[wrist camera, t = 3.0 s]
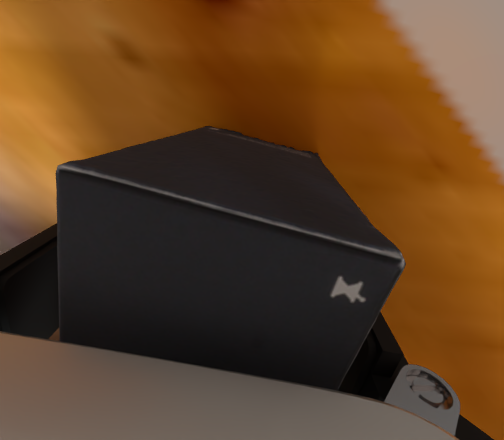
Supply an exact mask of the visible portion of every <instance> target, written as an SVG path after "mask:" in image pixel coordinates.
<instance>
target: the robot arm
mask: <svg viewBox="0 0 504 440" xmlns="http://www.w3.org/2000/svg"><path fill="white" fill-rule="evenodd" d="M58 328H59V293H58V258H57V224H55V225H53V226H51V227H50V228H48V229H46V230H44V231H43V232H41V233H39V234H37V235H36V236H34V237H32V238H30V239H29V240H27V241H25V242H23V243H22V244H20V245H18V246H16V247H14V248H13V249H11V250H9V251H7V252H6V253H4V254H2V255H0V440H494V439H492V438H491V437H490V436H488V435H487V434H485V433H484V432H483V431H481V430H480V429H479V428H477V427H476V426H475V425H473V424H472V423H471V422H469V421H468V420H467V419H465V418H464V417H463V416H461V415H460V414H459V413H460V402H459V399H458V397H457V395H456V393H455V392H454V390H453V389H452V388H451V386H450V385H449V384H448V383H447V382H446V381H445V380H444V379H442V378H441V377H440V376H438V375H437V374H436V373H434V372H432V371H430V370H429V369H427V368H424V367H421V366H419V365H411V364H410V365H409V364H408V362H407V360H406V359H405V357H404V354H403V352H402V350H401V349H400V347H399V345H398V343H397V341H396V339H395V338H394V336H393V334H392V332H391V330H390V328H389V327H388V325H387V323H386V321H385V319H384V317H383V316H382V314H381V312H379V314H378V316H377V319H376V321H375V323H374V324H373V326H372V328H371V330H370V331H369V333H368V335H367V337H366V339H365V340H364V342H363V344H362V346H361V348H360V350H359V352H358V354H357V356H356V358H355V359H354V361H353V363H352V365H351V366H350V368H349V370H348V372H347V374H346V375H345V377H344V379H343V381H342V383H341V385H340V387H339V389H338V390H337V391H336V390H332V389H327V388H321V387H316V386H310V385H305V384H299V383H294V382H289V381H283V380H277V379H272V378H266V377H261V376H255V375H250V374H244V373H239V372H233V371H228V370H222V369H217V368H211V367H206V366H200V365H194V364H189V363H183V362H177V361H172V360H166V359H160V358H154V357H149V356H143V355H137V354H132V353H126V352H120V351H114V350H108V349H103V348H97V347H91V346H85V345H79V344H73V343H67V342H61V341H55V340H49V338H50V337H51V336H52V335H53V334H54V332H55V331H56V330H57V329H58Z"/></svg>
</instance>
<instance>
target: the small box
mask: <svg viewBox="0 0 504 440" xmlns="http://www.w3.org/2000/svg"><path fill="white" fill-rule="evenodd" d="M56 186H57V258H58V293H59V341H61V342H67V343H73V344H79V345H85V346H91V347H97V348H103V349H108V350H114V351H120V352H126V353H132V354H137V355H143V356H149V357H154V358H160V359H166V360H172V361H177V362H183V363H189V364H194V365H200V366H206V367H211V368H217V369H222V370H228V371H233V372H239V373H244V374H250V375H255V376H261V377H266V378H272V379H277V380H283V381H289V382H294V383H299V384H305V385H310V386H316V387H321V388H327V389H332V390H336V391H337V390H338V389H339V387H340V385H341V383H342V381H343V379H344V377H345V375H346V374H347V372H348V370H349V368H350V366H351V365H352V363H353V361H354V359H355V358H356V356H357V354H358V352H359V350H360V348H361V346H362V344H363V342H364V340H365V339H366V337H367V335H368V333H369V331H370V330H371V328H372V326H373V324H374V323H375V321H376V319H377V316H378V314H379V312H380V311H381V309H382V307H383V305H384V304H385V302H386V300H387V298H388V296H389V294H390V293H391V291H392V289H393V287H394V285H395V284H396V282H397V280H398V278H399V277H400V275H401V273H402V271H403V270H404V267H405V265H406V263H405V260H404V258H403V256H402V253H401V252H400V251H399V249H398V248H397V247H396V246H395V245H394V244H393V243H392V242H391V241H390V240H389V239H387V238H386V237H385V236H384V235H383V234H382V233H381V232H379V231H378V230H377V229H376V228H374V226H373V225H372V224H371V223H370V222H369V220H368V218H367V217H366V216H365V215H364V214H363V213H362V211H361V210H360V208H359V207H358V206H357V205H356V204H355V203H354V201H353V200H352V199H351V198H350V196H349V195H348V194H347V193H346V192H345V190H344V189H343V188H342V186H341V185H340V184H339V183H338V181H337V180H336V179H335V178H334V176H333V175H332V173H330V171H329V170H328V169H327V168H326V167H325V165H324V164H323V163H322V161H321V159H320V157H319V156H318V153H312V152H310V151H299V150H295V149H294V148H292V147H286V146H284V145H276V144H274V143H269V142H267V141H262V140H259V139H258V138H252V137H248V136H244V135H242V134H241V133H240V132H235V131H230V130H227V129H217V128H214V127H211V126H205V127H203V128H199V129H196V130H192V131H188V132H185V133H181V134H178V135H174V136H170V137H166V138H163V139H158V140H155V141H150V142H147V143H143V144H138V145H135V146H131V147H127V148H124V149H121V150H117V151H113V152H110V153H106V154H103V155H99V156H95V157H92V158H88V159H84V160H77V161H69V162H67V163H64V164H61V165H58V167H57V170H56Z"/></svg>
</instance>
